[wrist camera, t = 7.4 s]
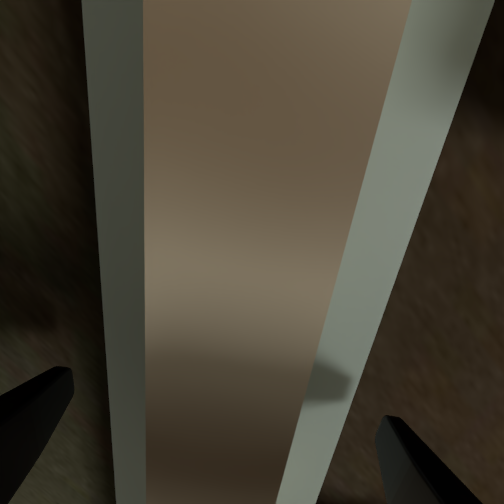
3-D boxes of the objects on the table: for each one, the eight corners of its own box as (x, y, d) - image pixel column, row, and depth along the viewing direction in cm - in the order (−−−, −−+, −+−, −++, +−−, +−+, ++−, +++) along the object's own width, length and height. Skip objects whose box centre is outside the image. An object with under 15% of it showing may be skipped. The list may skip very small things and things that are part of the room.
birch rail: (235, 573, 14) (226, 686, 11) (172, 563, 14) (146, 673, 11) (397, -173, 5) (582, -629, 2) (216, -198, 5) (139, -684, 2)
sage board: (281, 568, 15) (282, 597, 14) (130, 545, 15) (120, 572, 14) (541, -219, 5) (601, -300, 4) (94, -280, 5) (55, -373, 4)
